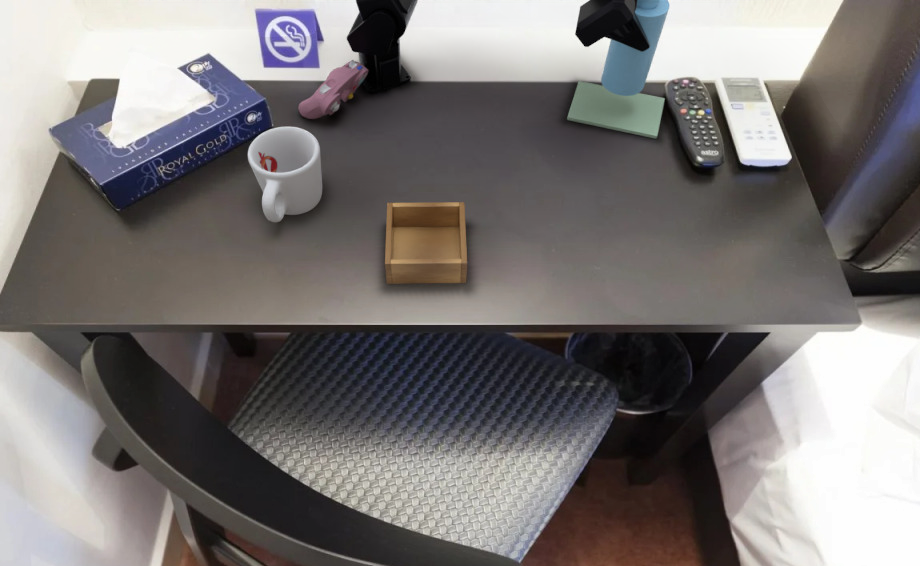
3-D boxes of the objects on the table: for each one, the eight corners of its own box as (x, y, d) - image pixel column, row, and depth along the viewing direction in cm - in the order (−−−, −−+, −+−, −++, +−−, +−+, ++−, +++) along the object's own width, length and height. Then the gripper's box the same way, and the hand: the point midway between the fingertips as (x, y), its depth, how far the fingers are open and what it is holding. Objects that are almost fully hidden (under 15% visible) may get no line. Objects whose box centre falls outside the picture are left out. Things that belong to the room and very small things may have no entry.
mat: (566, 120, 89) (567, 117, 89) (578, 83, 93) (578, 80, 93) (656, 139, 87) (657, 136, 87) (663, 101, 92) (665, 98, 91)
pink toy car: (320, 136, 89) (332, 106, 83) (293, 113, 88) (304, 81, 82) (363, 96, 94) (378, 65, 88) (338, 73, 93) (352, 41, 87)
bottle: (605, 96, 85) (632, -6, 73) (597, 68, 88) (622, -34, 77) (648, 95, 85) (682, -7, 74) (639, 68, 88) (670, -34, 77)
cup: (310, 247, 77) (297, 199, 70) (244, 236, 77) (226, 187, 71) (337, 181, 82) (328, 130, 76) (276, 171, 83) (261, 120, 76)
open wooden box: (387, 287, 74) (384, 263, 70) (389, 227, 78) (387, 202, 75) (465, 286, 74) (467, 263, 70) (463, 227, 79) (464, 202, 75)
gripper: (634, -78, 62) (712, 45, 70) (644, -163, 72) (711, -47, 80) (539, -9, 69) (619, 95, 78) (560, -95, 79) (630, 5, 88)
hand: (647, 34), depth 81 cm, fingers closed on bottle, 5 cm apart
